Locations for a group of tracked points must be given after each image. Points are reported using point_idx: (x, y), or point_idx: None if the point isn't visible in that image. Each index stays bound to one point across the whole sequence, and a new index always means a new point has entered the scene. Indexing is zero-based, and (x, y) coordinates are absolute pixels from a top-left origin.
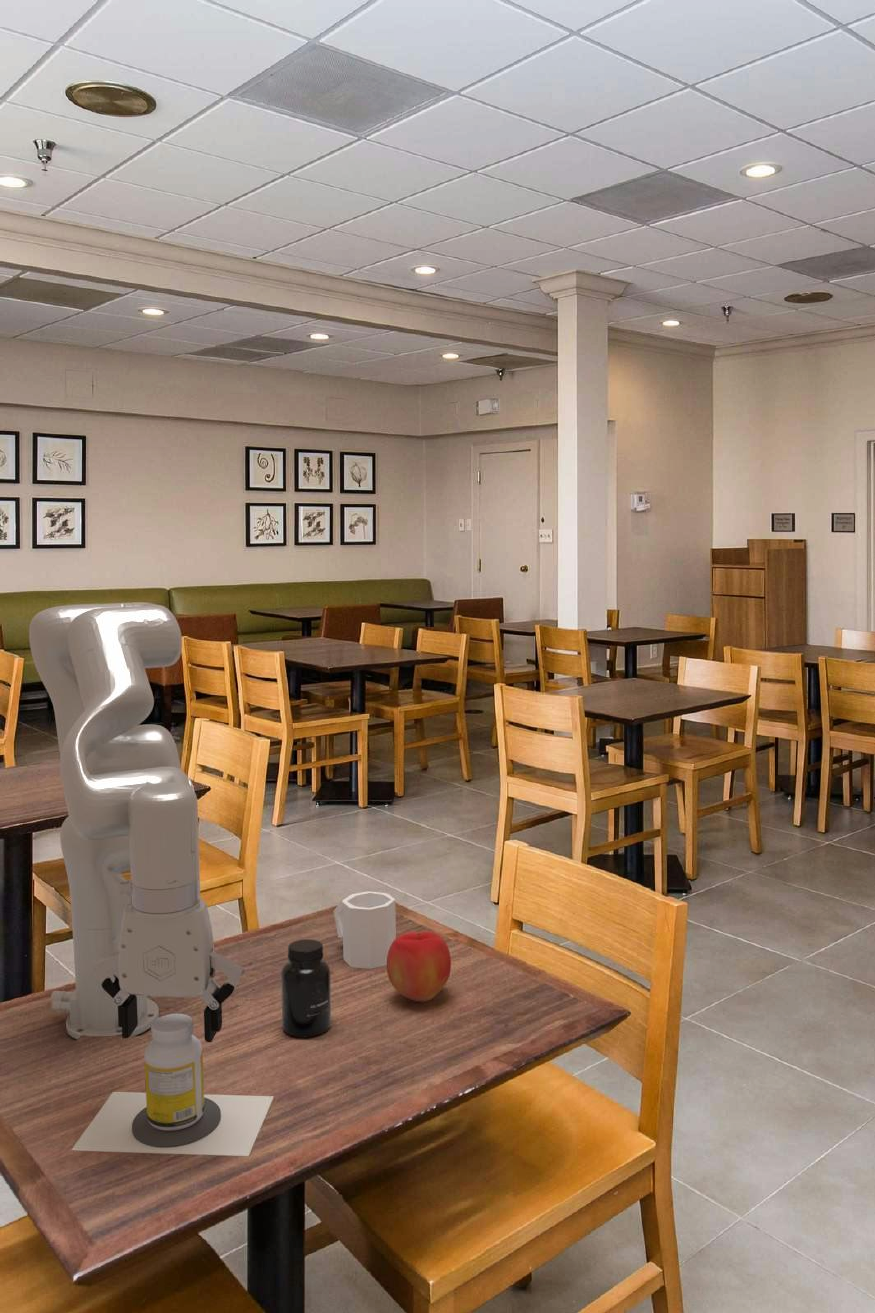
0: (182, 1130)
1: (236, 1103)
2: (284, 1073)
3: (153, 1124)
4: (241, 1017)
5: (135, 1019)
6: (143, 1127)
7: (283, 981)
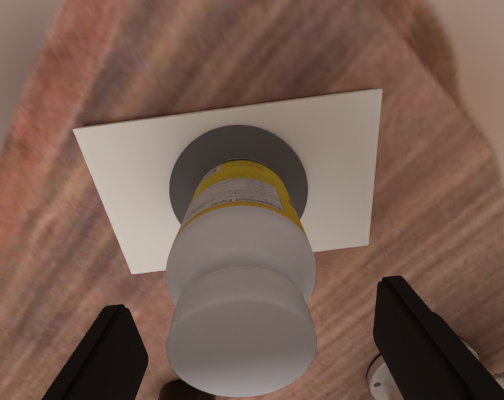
0: None
1: None
2: (164, 323)
3: (261, 162)
4: (271, 397)
5: (388, 352)
6: (282, 165)
7: None
